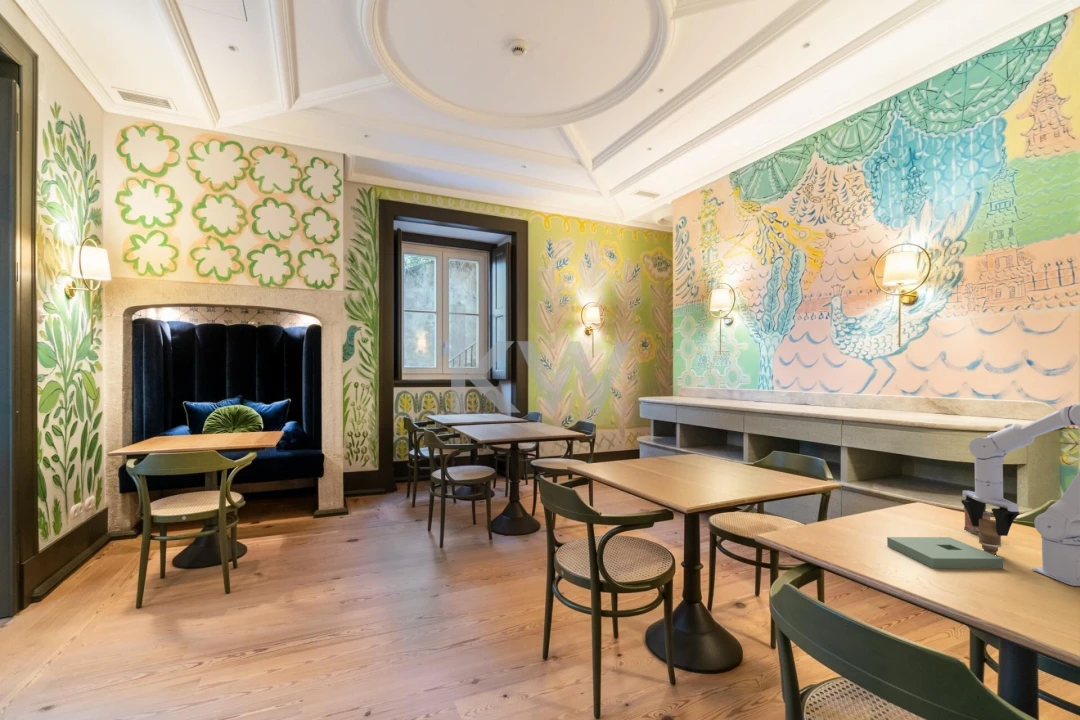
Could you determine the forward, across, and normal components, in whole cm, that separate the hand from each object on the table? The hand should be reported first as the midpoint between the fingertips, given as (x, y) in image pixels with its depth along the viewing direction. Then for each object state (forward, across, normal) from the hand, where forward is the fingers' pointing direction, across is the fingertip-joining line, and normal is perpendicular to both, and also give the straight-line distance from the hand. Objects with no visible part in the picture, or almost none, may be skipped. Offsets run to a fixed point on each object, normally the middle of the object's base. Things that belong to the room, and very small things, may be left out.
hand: (989, 530), depth 134 cm
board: (+6, +2, -15) cm, 16 cm away
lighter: (+7, -17, +12) cm, 22 cm away
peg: (+6, 0, 0) cm, 6 cm away
